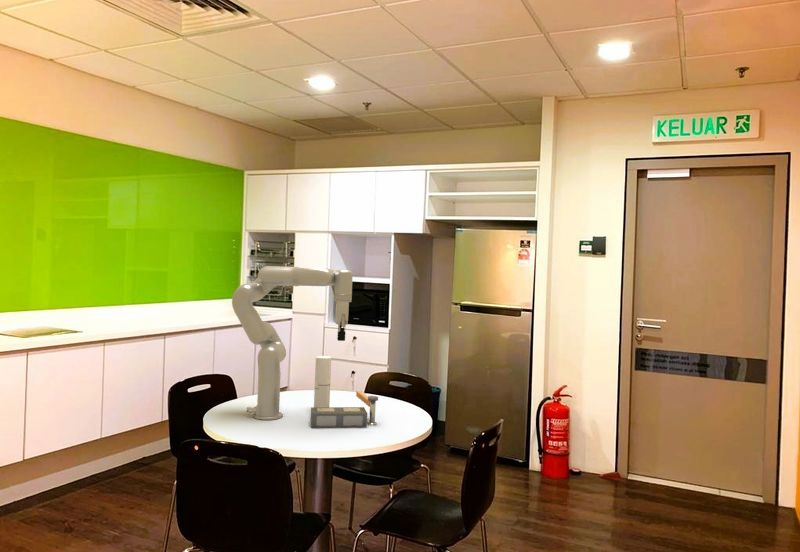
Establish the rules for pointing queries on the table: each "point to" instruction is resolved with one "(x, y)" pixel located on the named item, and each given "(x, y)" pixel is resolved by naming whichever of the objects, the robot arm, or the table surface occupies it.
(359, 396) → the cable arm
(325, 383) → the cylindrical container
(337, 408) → the block
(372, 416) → the post
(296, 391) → the table surface
